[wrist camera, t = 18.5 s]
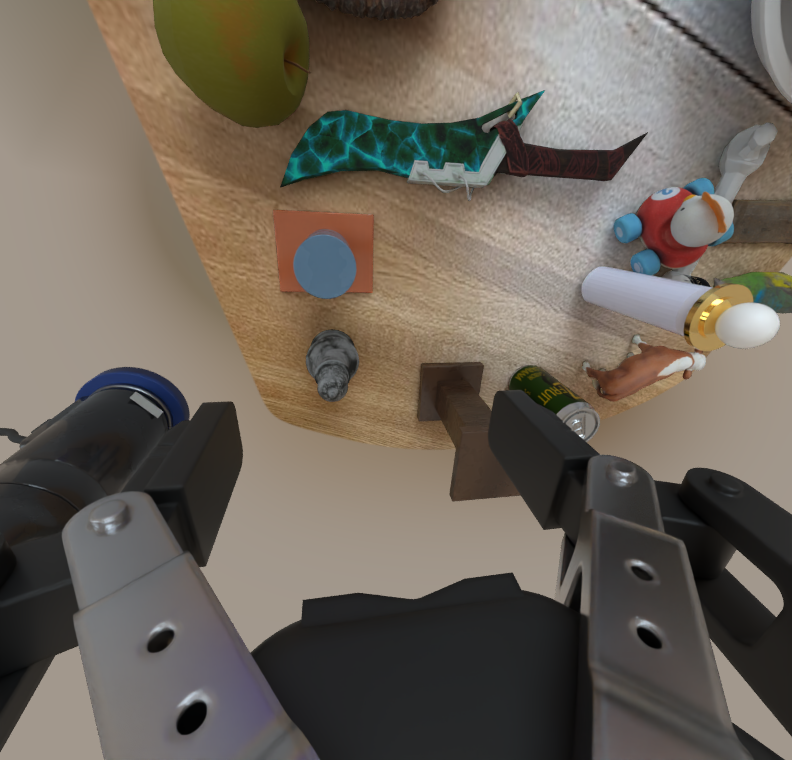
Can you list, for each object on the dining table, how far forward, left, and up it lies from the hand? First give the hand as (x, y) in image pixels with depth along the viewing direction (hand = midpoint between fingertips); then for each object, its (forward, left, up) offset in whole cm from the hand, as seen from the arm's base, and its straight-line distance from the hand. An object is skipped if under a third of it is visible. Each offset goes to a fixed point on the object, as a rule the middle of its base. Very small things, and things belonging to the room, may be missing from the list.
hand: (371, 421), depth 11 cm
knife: (+12, +12, -31) cm, 36 cm away
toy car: (+37, +5, -30) cm, 47 cm away
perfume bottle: (+31, -1, -31) cm, 44 cm away
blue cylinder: (-2, +2, -31) cm, 31 cm away
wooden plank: (+55, +10, -31) cm, 63 cm away
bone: (+44, +7, -29) cm, 53 cm away
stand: (+14, -15, -31) cm, 37 cm away
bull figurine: (+38, -11, -32) cm, 51 cm away
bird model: (+56, +2, -29) cm, 63 cm away
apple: (-12, +18, -28) cm, 36 cm away
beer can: (+25, -14, -32) cm, 42 cm away
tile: (-2, +2, -31) cm, 31 cm away
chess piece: (-1, -9, -32) cm, 33 cm away
